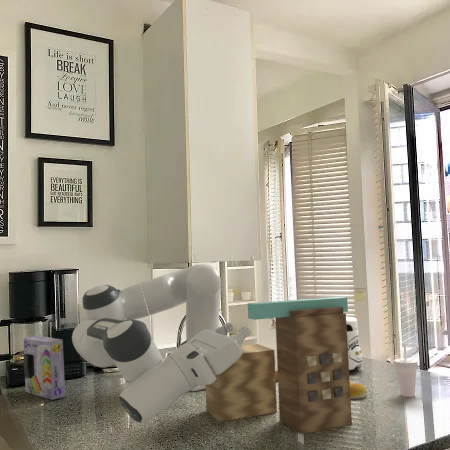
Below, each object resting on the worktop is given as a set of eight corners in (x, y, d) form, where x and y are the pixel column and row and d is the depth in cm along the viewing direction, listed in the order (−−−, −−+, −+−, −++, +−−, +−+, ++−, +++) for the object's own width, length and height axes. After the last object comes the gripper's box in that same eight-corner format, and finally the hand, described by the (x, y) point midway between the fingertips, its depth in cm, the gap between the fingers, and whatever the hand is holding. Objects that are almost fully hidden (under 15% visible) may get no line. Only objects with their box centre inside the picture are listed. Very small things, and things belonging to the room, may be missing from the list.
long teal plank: (254, 319, 109) (253, 304, 109) (248, 318, 112) (247, 303, 112) (348, 311, 119) (347, 297, 119) (339, 310, 122) (338, 296, 122)
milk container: (369, 375, 159) (366, 321, 160) (317, 376, 159) (315, 322, 160) (355, 364, 176) (353, 315, 177) (309, 365, 176) (306, 316, 178)
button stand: (302, 434, 107) (296, 311, 109) (279, 420, 116) (274, 308, 119) (353, 424, 112) (347, 307, 114) (327, 412, 122) (322, 304, 124)
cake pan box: (22, 391, 153) (22, 336, 155) (37, 388, 157) (36, 334, 158) (50, 402, 140) (50, 341, 142) (66, 398, 144) (65, 339, 145)
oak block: (220, 421, 117) (217, 356, 119) (206, 410, 126) (204, 349, 128) (277, 412, 123) (274, 349, 125) (260, 402, 133) (257, 344, 134)
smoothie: (420, 393, 136) (417, 343, 137) (419, 399, 130) (415, 347, 131) (396, 391, 139) (393, 342, 140) (394, 397, 133) (391, 346, 134)
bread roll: (357, 402, 130) (356, 387, 131) (330, 395, 137) (329, 381, 137) (373, 395, 136) (372, 381, 136) (347, 390, 143) (346, 376, 143)
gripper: (183, 367, 113) (228, 333, 118) (213, 386, 95) (265, 345, 100) (170, 345, 113) (216, 312, 118) (198, 360, 94) (251, 320, 99)
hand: (239, 327), depth 108 cm, fingers open, 8 cm apart
